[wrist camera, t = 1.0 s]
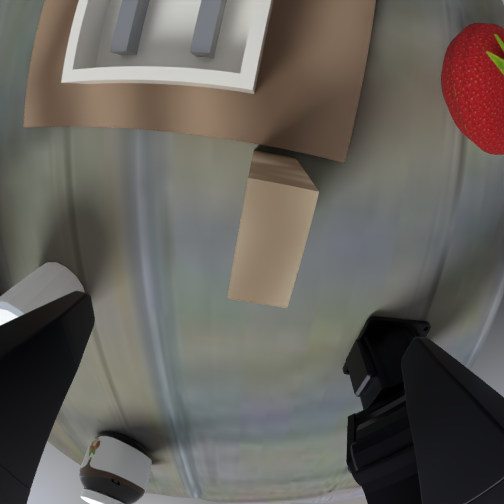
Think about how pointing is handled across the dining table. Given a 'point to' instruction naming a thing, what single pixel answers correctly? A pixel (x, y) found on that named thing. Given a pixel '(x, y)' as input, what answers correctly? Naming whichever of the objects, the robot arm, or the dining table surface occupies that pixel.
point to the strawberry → (477, 85)
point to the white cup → (38, 290)
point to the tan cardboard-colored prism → (272, 230)
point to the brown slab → (225, 101)
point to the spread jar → (114, 470)
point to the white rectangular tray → (168, 42)
